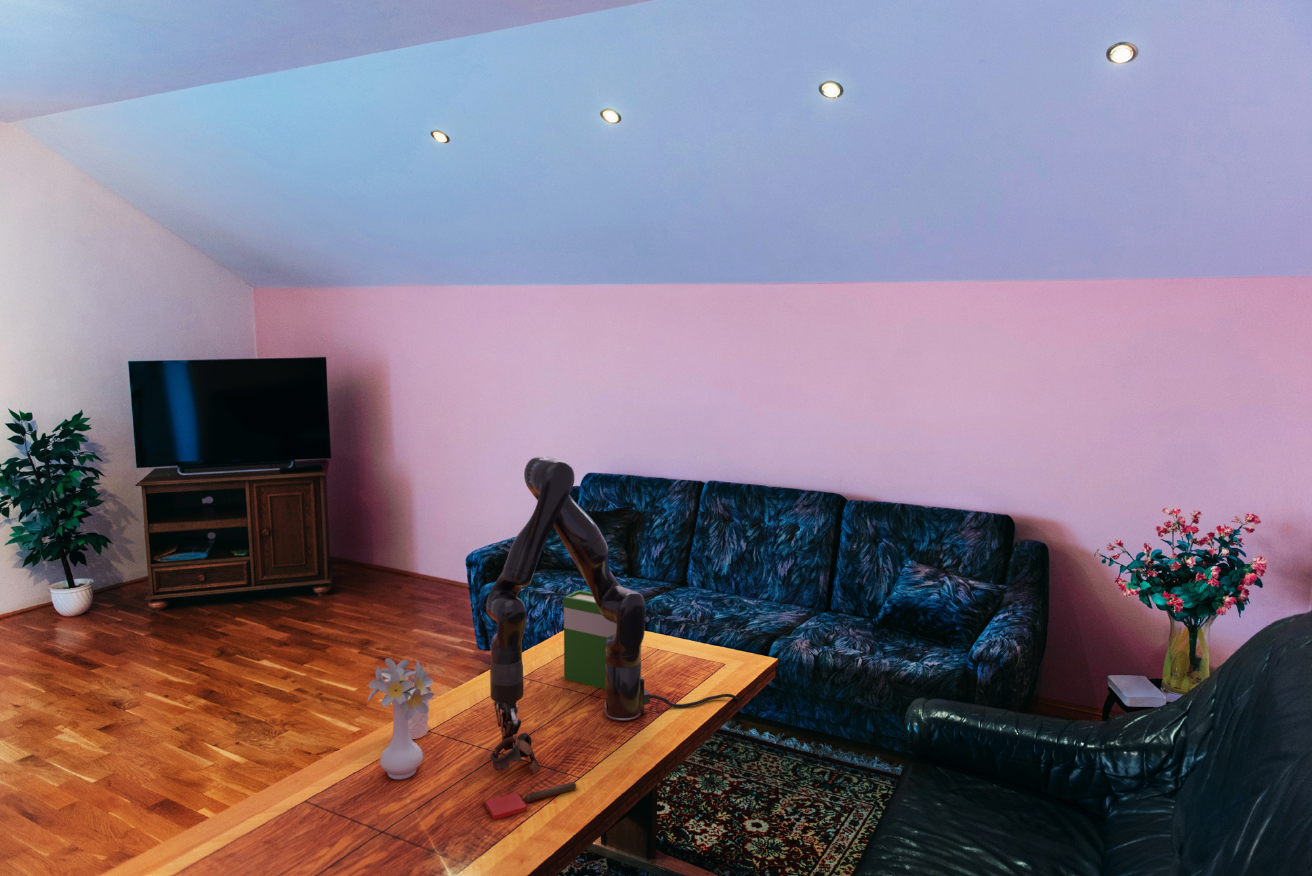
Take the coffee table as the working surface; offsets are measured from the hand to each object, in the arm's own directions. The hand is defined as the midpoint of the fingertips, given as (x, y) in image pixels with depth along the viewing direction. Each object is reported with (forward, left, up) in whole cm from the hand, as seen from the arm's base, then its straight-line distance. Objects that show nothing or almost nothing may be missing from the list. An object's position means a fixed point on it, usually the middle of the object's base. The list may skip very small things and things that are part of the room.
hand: (507, 748), depth 195 cm
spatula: (+2, +21, -1) cm, 21 cm away
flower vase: (+23, -3, -2) cm, 23 cm away
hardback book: (-36, -28, -2) cm, 46 cm away
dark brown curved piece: (0, +7, -2) cm, 7 cm away
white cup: (+17, -21, -2) cm, 27 cm away
